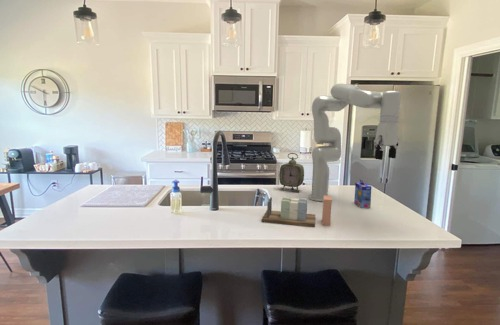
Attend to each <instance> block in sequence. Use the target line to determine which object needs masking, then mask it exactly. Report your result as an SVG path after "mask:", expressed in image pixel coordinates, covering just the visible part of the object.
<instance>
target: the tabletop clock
mask: <svg viewBox="0 0 500 325" xmlns="http://www.w3.org/2000/svg"><path fill="white" fill-rule="evenodd" d="M290 155H295V156H296V157H295V158H294V156H292V157H290ZM287 158H288V159H289V161H288V163H285V164H281V165H280V168H279V174H278V177H279V178H278V179H279V184H280V185H282V187H281V191H283V190H284V189H285V187H289V188H291V189H290V190H292V191H293V190H294V188H296V192H297V193H299V192H300V190H299V187H300V186H301V185H303V183H304V179H305V169H304V165H302V164H300V163H297V161H296V160H297V159H299V155H298V154H297V153H295V152H290V153H288V154H287Z"/></svg>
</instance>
